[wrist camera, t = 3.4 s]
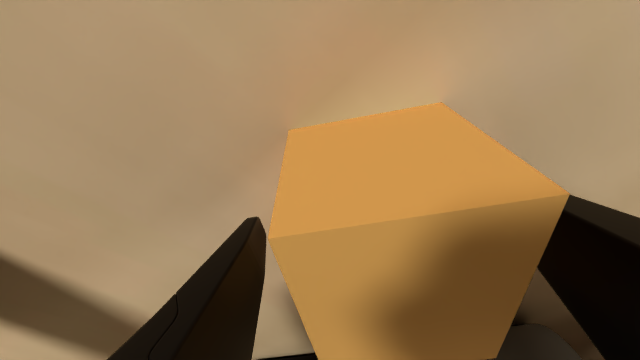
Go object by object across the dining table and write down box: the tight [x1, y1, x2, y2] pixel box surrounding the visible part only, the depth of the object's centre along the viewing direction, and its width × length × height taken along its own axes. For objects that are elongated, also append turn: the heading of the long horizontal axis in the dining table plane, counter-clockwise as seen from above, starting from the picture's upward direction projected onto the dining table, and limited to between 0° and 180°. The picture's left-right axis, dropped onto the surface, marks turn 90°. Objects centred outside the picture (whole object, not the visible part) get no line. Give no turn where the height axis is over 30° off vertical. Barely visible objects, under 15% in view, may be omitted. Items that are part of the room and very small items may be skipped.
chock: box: [268, 102, 570, 360], centre depth 8 cm, size 6×5×5 cm
